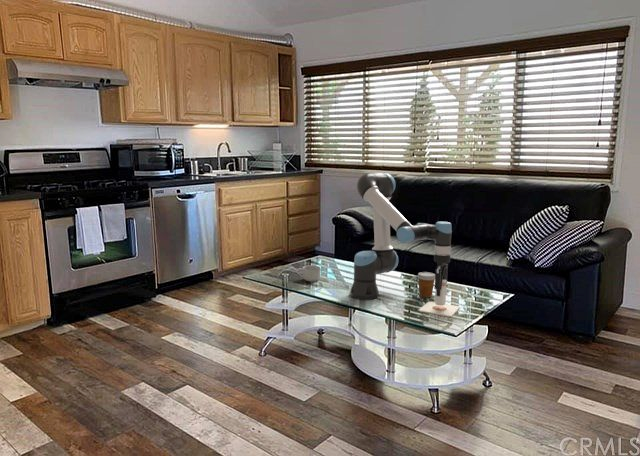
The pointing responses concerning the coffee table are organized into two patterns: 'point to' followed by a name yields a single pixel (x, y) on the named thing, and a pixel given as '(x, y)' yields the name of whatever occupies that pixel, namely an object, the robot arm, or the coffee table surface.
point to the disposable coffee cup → (426, 283)
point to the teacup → (310, 273)
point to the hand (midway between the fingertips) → (440, 300)
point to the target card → (439, 309)
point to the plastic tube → (442, 293)
